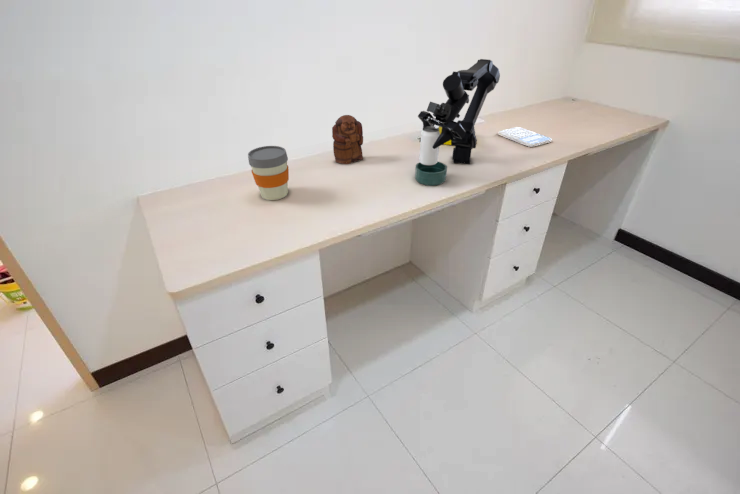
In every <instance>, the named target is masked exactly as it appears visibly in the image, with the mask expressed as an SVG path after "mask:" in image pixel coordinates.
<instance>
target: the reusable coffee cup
mask: <svg viewBox="0 0 740 494" xmlns="http://www.w3.org/2000/svg"><path fill="white" fill-rule="evenodd" d="M247 158H248V165H249V166H250V168H251V174H252V177H253V180H254V183H255V185H256V186H257V187H258V190H259V193H260V195H261V198H262V199H264V200H266V201H277V200H281V199H283V198H285V197H287V195H288V194H289V189H288V182H289V180H290V178H289V177H290V176H289V175H290V174H289V164H288V160H289V158H288V153H287V150H286V149H285V147H282V146H279V145H264V146H259V147H256V148H253V149H251V150H250V151H249V152H248V153H247Z"/></svg>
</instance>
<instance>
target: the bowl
mask: <svg viewBox="0 0 740 494" xmlns="http://www.w3.org/2000/svg"><path fill="white" fill-rule="evenodd" d="M414 170H415V171H414V179H415V181H416V182H417V183H418V184H420V185H424V186H428V187H429V186H430V187H432V186H433V187H434V186H439V185H442V184H443V183H445V182H446V181H447V175H448V174H447V173H448V166H447V164H446V163H444V162H441V161H438V162H437V163H436V164H435V165H431V166H427V165H423V164H421V163H420V161H418V163H416V164H415V169H414Z"/></svg>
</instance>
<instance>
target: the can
mask: <svg viewBox="0 0 740 494" xmlns="http://www.w3.org/2000/svg"><path fill="white" fill-rule="evenodd" d="M439 135H440V132H439V128H438V126H435V125H434V126H427V127H424V128H423V127H422V131H421V133H420V137H421V141H420V140H419V141H420V142H419V143H420V144H419V145H420V146H419V159H418V160H419V161H418V162H420V163H421V164H423V165H427V166H431V165H435V164H436V163H437V162H439V151H440V150H439V148H440V146H439V147H437V148H435V149H433V145H434V143H435V142H436V140H437V138H438V137H439Z"/></svg>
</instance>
